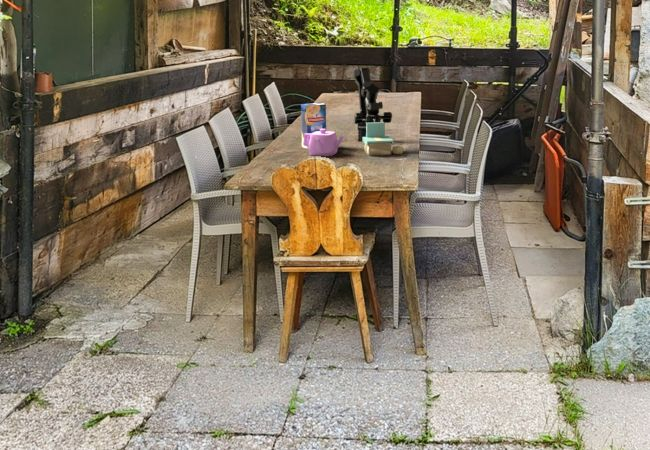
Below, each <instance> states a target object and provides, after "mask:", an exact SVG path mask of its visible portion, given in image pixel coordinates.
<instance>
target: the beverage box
mask: <svg viewBox="0 0 650 450" xmlns="http://www.w3.org/2000/svg"><path fill="white" fill-rule="evenodd" d="M300 118H301V119H300V121H301V122H300V123H301V128H300V129H301V147H302V148H305V149H308V147H306V146H305V145H303V144H304V134H312V133H314V132H316V131H320V129H326V130H327V104H326V103H322V102H316V103H315V102H314V103H301V104H300ZM309 139H310V137H309Z"/></svg>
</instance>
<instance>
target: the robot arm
mask: <svg viewBox="0 0 650 450" xmlns="http://www.w3.org/2000/svg"><path fill="white" fill-rule="evenodd" d="M353 79H354V82H355V84H356V85H357V86H358V99H359V100H358V101H359V112H355V114H354V118H353V121H354V122H353V123H354V124H355V129H356V130H357V132H358V134H357V135H358V136H357V142H363V141H362V137H366V123H376V122H384V123H385V124H386V123H388V124H390V123H391V122H392V118H393V113H392V112H391V111H383V114H380V110H382V109H383V101H378V102H377V99H378V96H379V92H380V89H379V87H378V86H377V85H375V83H373V82H372V80H371V69H369V67H359V68H356V69H354V71H353ZM381 120H382V121H381Z"/></svg>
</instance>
